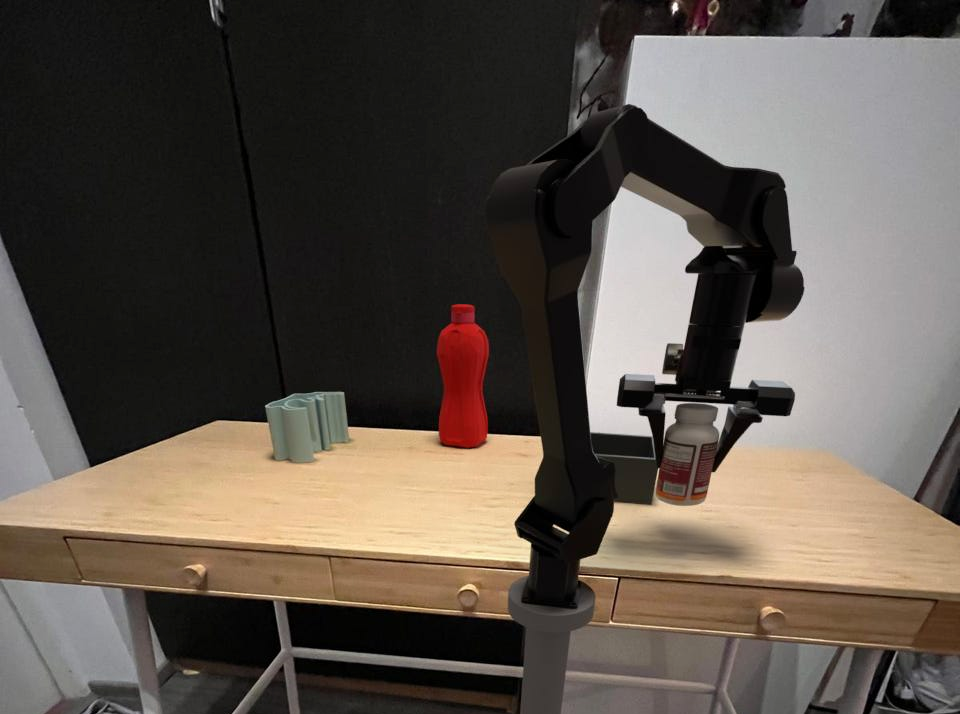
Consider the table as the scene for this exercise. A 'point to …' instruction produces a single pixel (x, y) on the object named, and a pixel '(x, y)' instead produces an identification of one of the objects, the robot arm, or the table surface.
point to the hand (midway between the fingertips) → (685, 469)
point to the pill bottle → (688, 455)
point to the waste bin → (629, 464)
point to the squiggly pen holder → (306, 424)
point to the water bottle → (463, 379)
